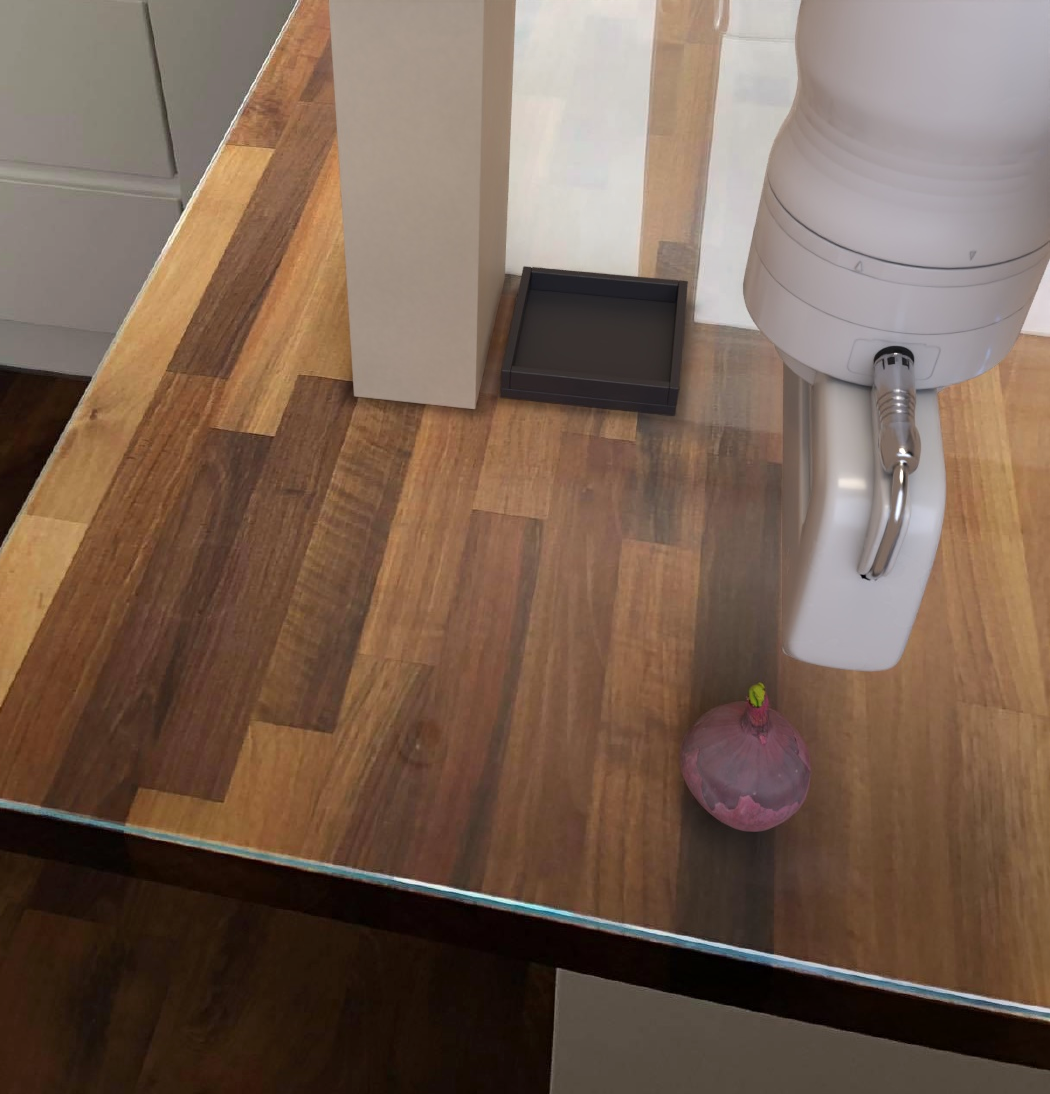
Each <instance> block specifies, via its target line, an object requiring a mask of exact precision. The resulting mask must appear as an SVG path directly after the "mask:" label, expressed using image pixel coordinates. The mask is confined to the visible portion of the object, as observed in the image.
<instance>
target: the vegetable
mask: <svg viewBox="0 0 1050 1094" xmlns="http://www.w3.org/2000/svg"><path fill="white" fill-rule="evenodd" d="M745 698H746V701H743V700H741V701H732V702H728V703H723V704H720V705H717V706H715V707H712V708H711V709H708V710H707V711H705V712H704V713H703V714H702V715H701V716H700V717H699V718H698V719H696V720H695V722H693V724H692V725H691V726H690V727H689V729H688V730H687V732H686V733H685V735H684V736H683V738H682V742H681V744H680V748H679V755H678V757H679V758H678V759H679V761H678V762H679V766H680V771H681V774H682V775H681V776H682V777H683V780H684V782H685V784H686V786H687V788H688V790H689V792H690V793H691V794H692V796H693V797H694V799H695V800H696V801H697V802H698V804H699V805H700V806H701V807H702V808H703V809H704V810H705V811H706V812H707V813H709V814H710V815H711V816H713V817H714V818H715V819H716V820H718V821H719V822H721V823H722V824H725V825H726V826H728V827H730V828H732V829H735V830H738V831H742V832H750V833H751V832H753V833H755V832H758V833H759V832H764V831H767V830H770V829H772V828H775V827H777V826H779V825H781V824H782V823H784V822H786V821H787V820H789V819H790V818H791V817H792V816H793V815H794V814H796V813H797V812H798V811H799V810H800V808H801V807H802V805H803V804H804V803H805V801H806V799H807V796H808V793H809V789H810V785H811V777H812V762H811V758H810V752H809V749H808V747H807V744H806V742H805V740H804V738H803V736H802V735H801V733H800V732H799V731H798V730H797V728H796V727H795V726H794V725H793V724H792V722H791V721H789V719H787V718H786V716H784V715H782V713H779V712H778V711H777V710H775V709H774V708H771V707H770V701H769V697H768V694H767V690H766V687H765V685H764V684H763V683H762V682H758V683H757V684H753V685H751V686H750V687H749V690H748V694H747V695H745Z"/></svg>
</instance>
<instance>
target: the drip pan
mask: <svg viewBox="0 0 1050 1094" xmlns="http://www.w3.org/2000/svg"><path fill="white" fill-rule="evenodd" d="M688 285H689V281H688V280H681V279H680V280H678V279H671V278H670V279H668V278H657V277H645V276H636V275H624V274H614V273H613V274H612V273H603V272H593V271H581V270H569V269H561V268H560V269H559V268H549V267H537V266H527V265H526V266H525V265H524V266H523V267H522V271H521V276H520V281H519V285H518V290H517V294H516V299H515V304H514V309H513V312H512V317H511V322H510V327H509V332H508V337H507V342H506V346H505V350H504V351H505V352H504V355H503V361H502V364H501V370H500V387H499V388H500V390H499V397H500V398H504V399H512V400H513V399H514V400H522V401H531V402H540V403H549V404H550V403H551V404H559V405H567V406H568V405H570V406H577V407H588V408H598V409H605V410H615V411H626V412H636V413H644V414H645V413H646V414H654V415H665V416H673V417H675V416H676V411H677V405H678V399H679V394H680V386H681V372H682V359H683V347H684V337H685V324H686V310H687V299H688V298H687V297H688V287H689V286H688Z"/></svg>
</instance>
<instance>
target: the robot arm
mask: <svg viewBox="0 0 1050 1094" xmlns="http://www.w3.org/2000/svg"><path fill="white" fill-rule="evenodd" d="M794 33H795V34H794V51H795V59H796V60H795V61H796V68H797V69H796V70H797V84H796V90H795V95H794V99H793V102H792V105H791V106H790V107H791V108H790V110H789V112H788V114H787V115H786V117H785V119H784V120H783V122H782V123H781V126H780V128H779V130H778V131H777V133H776V135H775V138H774V140H773V142H772V145H771V148H770V151H769V155H768V157H767V158H768V159H767V165H766V168H765V173H764V178H763V184H762V189H761V192H760V193H761V194H760V199H759V203H758V207H757V213H756V218H755V222H754V227H753V230H752V231H753V232H752V236H751V241H750V246H749V251H748V255H747V261H746V265H745V270H744V275H743V281H742V295H743V300H744V301H743V302H744V305H745V307H746V310H747V313H748V314H749V316H750V319H751V321H752V322H753V323H754V325H755V326H756V327H757V329H758V330H759V331H760V333H761V334H762V335H763V336H764V337H765V338H766V339H767V340H768V341H769V342H770V343H771V344H772V345H773V346H774V349H775V350H776V353H777V354H778V356H779V357H780V359H781V361H782V461H781V462H782V468H781V469H782V470H781V471H782V472H781V473H782V475H781V476H782V477H781V481H782V482H781V483H782V484H781V487H782V488H781V489H782V490H781V492H782V493H781V494H782V495H781V496H782V499H781V649H782V653H783V654H785V655H786V656H787V657H790V658H792V659H793V660H796V661H799V662H802V663H806V664H809V665H814V666H818V667H825V668H831V669H835V670H845V671H846V670H847V671H855V672H883V671H888V670H890V669H892V668H894V667H895V666H896V665H897V664H898V663H899V661H900V660H901V659H902V657H903V656H904V653H905V650H906V648H907V645H908V642H909V639H910V637H911V634H912V631H913V628H914V625H915V623H916V620H917V619H916V618H917V616H918V613H919V611H920V607H921V604H922V600H923V597H924V594H925V591H926V588H927V585H928V582H929V579H930V576H931V573H932V570H933V566H934V563H935V560H936V556H937V552H938V548H939V544H940V540H941V537H942V531H943V526H944V519H945V513H946V504H947V503H946V502H947V471H946V462H945V461H946V459H945V451H944V443H943V442H944V441H943V433H942V424H941V423H942V422H941V413H940V405H939V404H940V403H939V395H938V394H939V393H940V392H942V391H944V390H945V389H947V388H948V387H950V386H954V385H958V384H961V383H965V382H967V381H970V380H972V379H973V380H974V379H975V378H977V377H980V376H982V375H984V374H985V373H987V372H989V371H991V370H993V368H995V367H996V366H998V365H999V364H1000V363H1001V362H1002V361H1003V360H1004V359H1005V358H1006V357H1007V356H1008V355H1009V354H1010V353H1011V351H1012V350H1013V349H1014V346H1016V344H1017V341H1018V339H1019V337H1020V334H1021V333H1022V329H1023V327H1024V324H1025V322H1026V319H1027V317H1028V315H1029V312H1030V310H1031V307H1032V306H1033V305H1032V304H1033V302H1034V300H1035V297H1036V294H1037V292H1038V289H1039V286H1040V284H1041V282H1042V280H1043V277H1044V275H1045V272H1046V270H1047V267H1048V265H1049V262H1050V0H800V4H799V9H798V14H797V19H796V27H795V32H794Z"/></svg>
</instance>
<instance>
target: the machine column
mask: <svg viewBox="0 0 1050 1094" xmlns="http://www.w3.org/2000/svg"><path fill="white" fill-rule="evenodd" d="M516 6H517V0H328V14H329V28H330V45H331V46H330V47H331V61H332V75H333V76H332V77H333V91H334V106H335V107H334V108H335V109H334V110H335V121H336V123H335V124H336V136H337V137H336V139H337V154H338V168H339V169H338V170H339V186H340V199H341V200H340V201H341V215H342V216H341V217H342V218H341V219H342V231H343V244H344V245H343V247H344V262H345V264H344V265H345V277H346V278H345V279H346V294H347V295H346V296H347V310H348V311H347V312H348V323H349V325H348V326H349V339H350V357H351V370H352V371H351V372H352V386H353V397H356V398H365V399H375V400H376V399H377V400H386V401H395V402H402V403H403V402H404V403H413V404H421V405H431V406H439V407H440V406H441V407H449V408H458V409H467V410H468V409H469V410H476V408H477V403H478V400H479V395H480V390H481V387H482V386H481V385H482V381H483V377H484V373H485V368H486V363H487V360H488V355H489V350H490V348H491V347H490V346H491V341H492V338H493V334H494V328H495V324H496V320H497V315H498V312H499V307H500V306H499V305H500V302H501V297H502V293H503V288H504V285H505V279H506V260H507V259H506V257H507V238H508V237H507V234H508V209H509V205H508V204H509V185H510V184H509V183H510V161H511V159H510V158H511V135H512V134H511V132H512V110H513V109H512V108H513V83H514V60H515V59H514V56H515V35H516V33H515V31H516Z"/></svg>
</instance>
